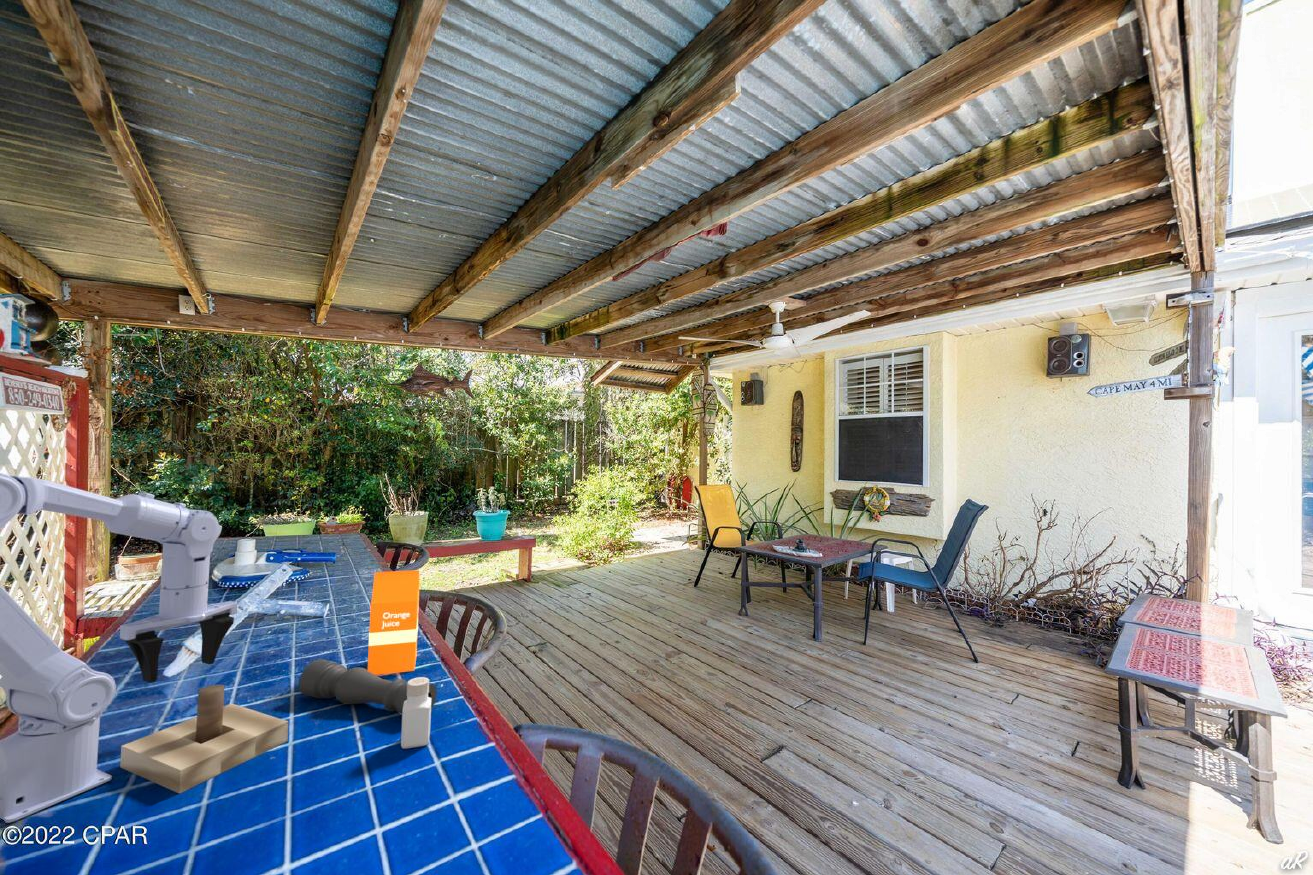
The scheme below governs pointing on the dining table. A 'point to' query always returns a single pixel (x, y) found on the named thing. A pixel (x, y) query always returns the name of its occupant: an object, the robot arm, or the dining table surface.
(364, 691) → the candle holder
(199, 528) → the robot arm
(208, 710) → the walnut peg
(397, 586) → the orange juice
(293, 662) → the dining table surface
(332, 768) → the dining table surface
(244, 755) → the socket block
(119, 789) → the dining table surface
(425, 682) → the pepper shaker
